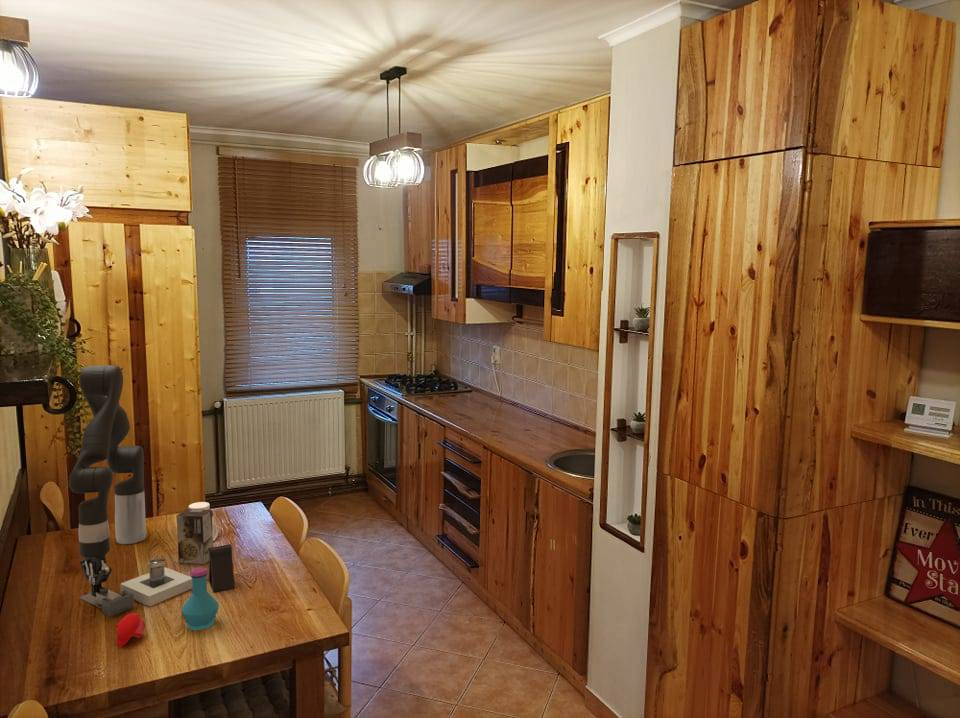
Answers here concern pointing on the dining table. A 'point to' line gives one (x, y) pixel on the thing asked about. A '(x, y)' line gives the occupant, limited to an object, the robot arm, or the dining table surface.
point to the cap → (129, 628)
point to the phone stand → (221, 568)
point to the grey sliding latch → (112, 603)
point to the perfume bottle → (199, 603)
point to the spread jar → (206, 507)
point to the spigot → (156, 572)
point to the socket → (151, 596)
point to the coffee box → (194, 535)
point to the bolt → (106, 595)
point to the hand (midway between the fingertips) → (97, 595)
